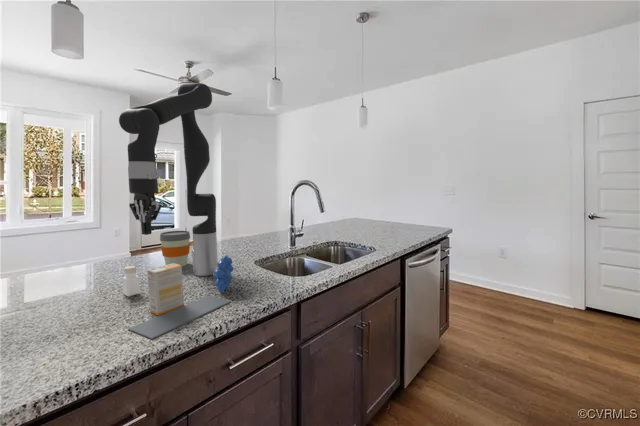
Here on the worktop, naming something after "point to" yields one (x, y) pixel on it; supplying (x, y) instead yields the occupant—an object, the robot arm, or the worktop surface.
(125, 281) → the pepper shaker
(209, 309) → the rubber mat
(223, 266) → the grapes
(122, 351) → the worktop surface
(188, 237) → the reusable coffee cup
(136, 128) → the robot arm
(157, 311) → the supplement box
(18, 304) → the worktop surface
